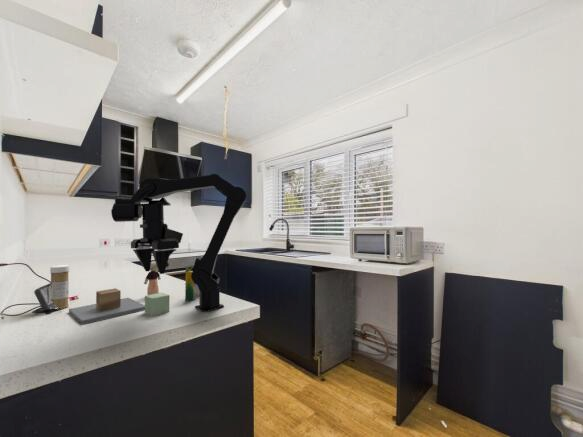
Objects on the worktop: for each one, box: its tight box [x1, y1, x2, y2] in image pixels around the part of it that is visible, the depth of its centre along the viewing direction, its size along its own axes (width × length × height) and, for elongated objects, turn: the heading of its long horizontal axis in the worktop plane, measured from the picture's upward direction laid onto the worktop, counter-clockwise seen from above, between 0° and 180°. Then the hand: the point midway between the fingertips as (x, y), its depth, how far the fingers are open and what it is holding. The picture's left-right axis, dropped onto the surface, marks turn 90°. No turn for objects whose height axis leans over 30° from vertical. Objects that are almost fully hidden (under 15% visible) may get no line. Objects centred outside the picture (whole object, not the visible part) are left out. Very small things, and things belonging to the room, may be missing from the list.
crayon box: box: [184, 263, 199, 302], centre depth 95 cm, size 7×3×12 cm, turn 179°
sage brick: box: [144, 292, 170, 317], centre depth 79 cm, size 5×5×5 cm
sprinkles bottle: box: [49, 264, 70, 310], centre depth 85 cm, size 5×5×13 cm
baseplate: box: [68, 297, 145, 325], centre depth 81 cm, size 16×16×1 cm
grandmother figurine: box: [143, 261, 161, 296], centre depth 98 cm, size 8×4×13 cm, turn 179°
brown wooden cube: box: [95, 287, 122, 311], centre depth 81 cm, size 5×5×5 cm
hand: (154, 272), depth 80 cm, fingers open, 9 cm apart
